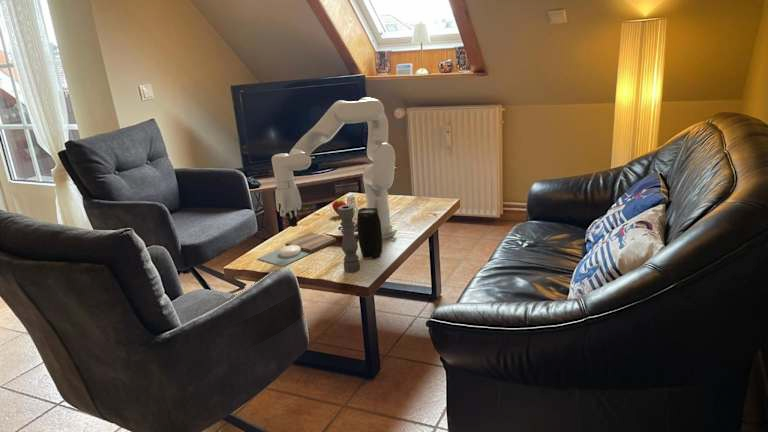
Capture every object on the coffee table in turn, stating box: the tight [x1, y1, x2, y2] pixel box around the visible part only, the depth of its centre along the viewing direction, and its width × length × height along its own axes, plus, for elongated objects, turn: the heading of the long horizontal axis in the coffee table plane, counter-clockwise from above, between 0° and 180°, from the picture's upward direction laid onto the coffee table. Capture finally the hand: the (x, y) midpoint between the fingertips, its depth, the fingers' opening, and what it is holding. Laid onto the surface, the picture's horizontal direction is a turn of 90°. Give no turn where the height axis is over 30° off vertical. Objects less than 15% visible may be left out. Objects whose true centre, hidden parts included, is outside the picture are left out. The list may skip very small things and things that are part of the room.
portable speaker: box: [356, 207, 383, 260], centre depth 220 cm, size 9×9×20 cm
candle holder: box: [337, 204, 361, 274], centre depth 208 cm, size 6×6×25 cm
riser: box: [284, 232, 337, 254], centre depth 242 cm, size 16×15×2 cm
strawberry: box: [332, 196, 347, 216], centre depth 276 cm, size 6×8×10 cm
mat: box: [257, 248, 311, 267], centre depth 231 cm, size 16×15×1 cm
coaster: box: [278, 245, 301, 257], centre depth 233 cm, size 9×9×2 cm
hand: (293, 225), depth 232 cm, fingers closed
